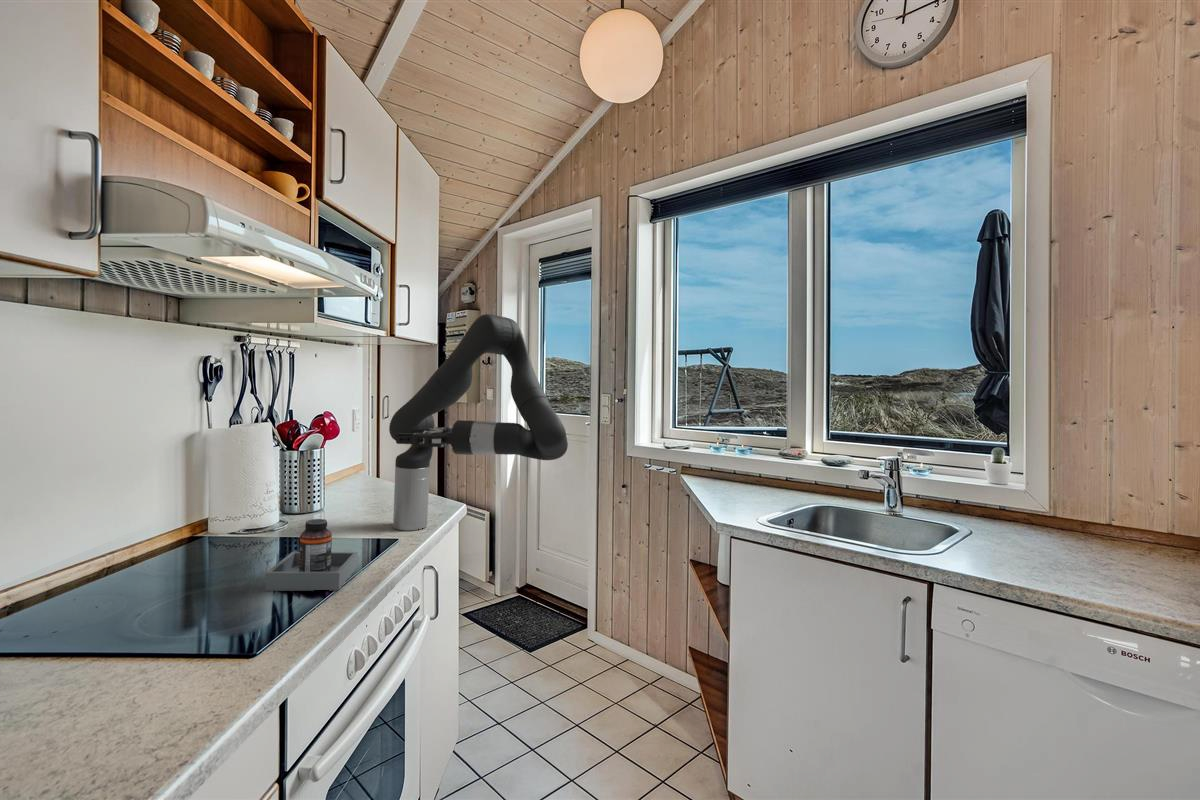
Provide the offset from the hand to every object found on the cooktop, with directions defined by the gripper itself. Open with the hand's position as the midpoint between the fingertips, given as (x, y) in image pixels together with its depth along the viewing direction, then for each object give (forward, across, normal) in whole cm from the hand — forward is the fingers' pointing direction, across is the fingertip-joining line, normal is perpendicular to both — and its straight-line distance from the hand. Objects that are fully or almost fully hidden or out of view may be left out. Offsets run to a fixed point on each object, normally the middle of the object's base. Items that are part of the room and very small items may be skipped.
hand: (404, 435), depth 127 cm
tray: (+15, +10, +29) cm, 34 cm away
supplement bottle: (+15, +10, +28) cm, 34 cm away
